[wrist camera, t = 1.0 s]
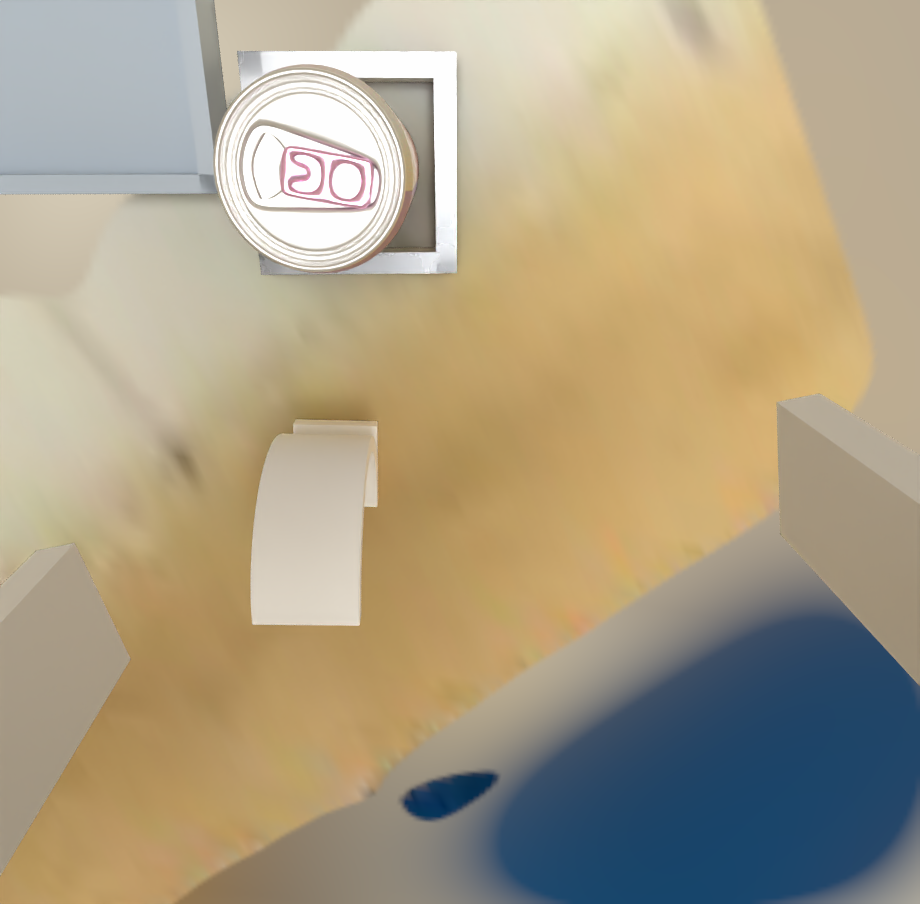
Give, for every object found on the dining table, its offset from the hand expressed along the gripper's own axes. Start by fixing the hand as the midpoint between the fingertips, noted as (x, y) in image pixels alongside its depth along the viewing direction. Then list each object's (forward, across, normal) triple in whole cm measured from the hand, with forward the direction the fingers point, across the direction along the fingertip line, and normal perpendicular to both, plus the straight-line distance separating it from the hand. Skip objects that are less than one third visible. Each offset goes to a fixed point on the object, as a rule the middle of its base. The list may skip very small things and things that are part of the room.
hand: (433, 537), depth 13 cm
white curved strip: (+26, -7, -8) cm, 28 cm away
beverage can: (+26, -2, +7) cm, 27 cm away
